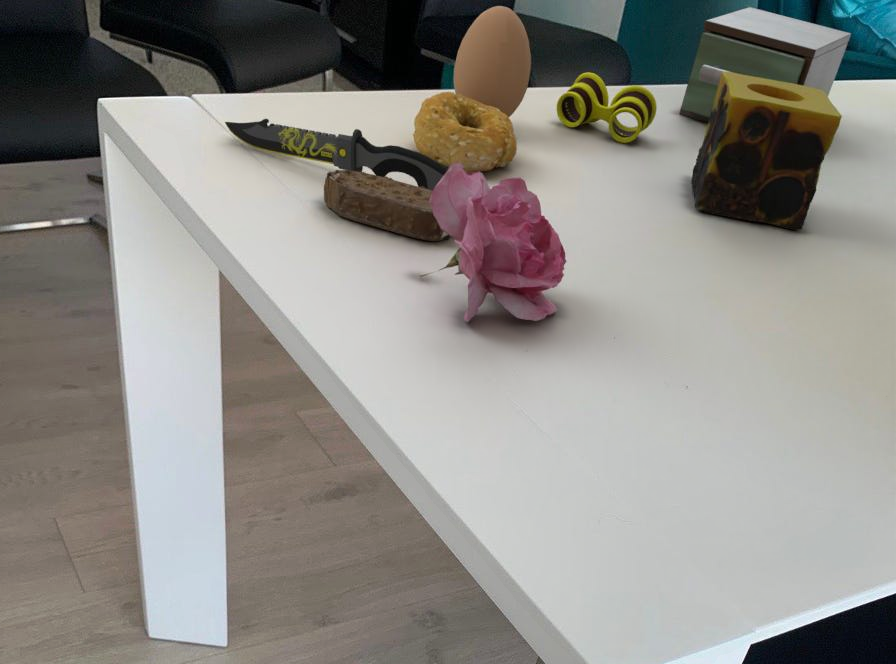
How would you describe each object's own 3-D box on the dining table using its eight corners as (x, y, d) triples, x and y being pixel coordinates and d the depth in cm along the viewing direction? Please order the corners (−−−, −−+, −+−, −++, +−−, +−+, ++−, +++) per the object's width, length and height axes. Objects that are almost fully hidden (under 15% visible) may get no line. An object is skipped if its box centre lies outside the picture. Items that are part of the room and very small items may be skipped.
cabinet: (782, 145, 117) (816, 49, 110) (678, 113, 121) (705, 20, 114) (818, 121, 127) (851, 33, 121) (722, 93, 132) (749, 6, 125)
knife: (222, 167, 93) (218, 107, 90) (232, 163, 94) (228, 104, 91) (453, 213, 85) (456, 149, 82) (461, 209, 86) (465, 145, 83)
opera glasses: (550, 130, 111) (557, 82, 107) (570, 111, 114) (577, 64, 110) (633, 155, 108) (644, 107, 104) (651, 135, 111) (662, 88, 107)
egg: (518, 121, 109) (540, 5, 102) (519, 142, 103) (542, 21, 96) (448, 109, 109) (465, -8, 102) (445, 130, 103) (463, 7, 96)
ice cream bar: (336, 193, 86) (338, 159, 84) (505, 239, 83) (512, 205, 81) (309, 211, 82) (311, 176, 80) (485, 261, 79) (492, 226, 77)
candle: (801, 233, 94) (846, 118, 88) (693, 212, 95) (730, 95, 88) (788, 197, 102) (828, 89, 95) (688, 178, 102) (721, 68, 96)
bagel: (411, 169, 93) (418, 113, 90) (410, 132, 101) (417, 80, 98) (518, 184, 94) (529, 129, 90) (509, 146, 102) (519, 95, 99)
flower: (559, 345, 77) (621, 273, 68) (439, 365, 74) (487, 292, 65) (514, 210, 79) (568, 122, 69) (394, 223, 76) (434, 133, 66)
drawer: (763, 145, 112) (790, 65, 107) (666, 115, 116) (688, 37, 110) (810, 116, 125) (837, 43, 120) (722, 90, 129) (743, 19, 124)
